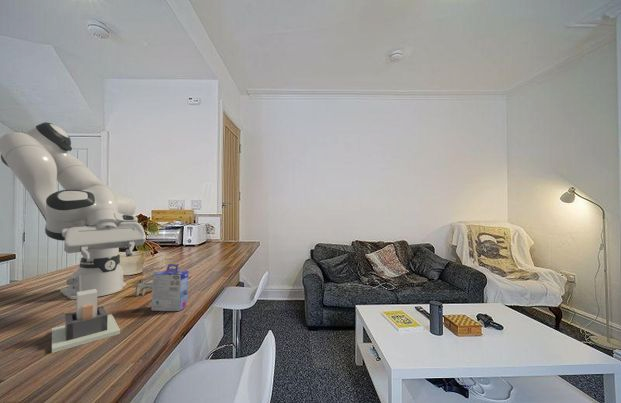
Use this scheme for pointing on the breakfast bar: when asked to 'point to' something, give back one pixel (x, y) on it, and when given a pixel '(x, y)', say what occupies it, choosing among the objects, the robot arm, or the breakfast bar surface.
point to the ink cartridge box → (170, 290)
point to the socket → (83, 330)
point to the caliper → (143, 285)
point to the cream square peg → (86, 304)
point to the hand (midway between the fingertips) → (110, 257)
